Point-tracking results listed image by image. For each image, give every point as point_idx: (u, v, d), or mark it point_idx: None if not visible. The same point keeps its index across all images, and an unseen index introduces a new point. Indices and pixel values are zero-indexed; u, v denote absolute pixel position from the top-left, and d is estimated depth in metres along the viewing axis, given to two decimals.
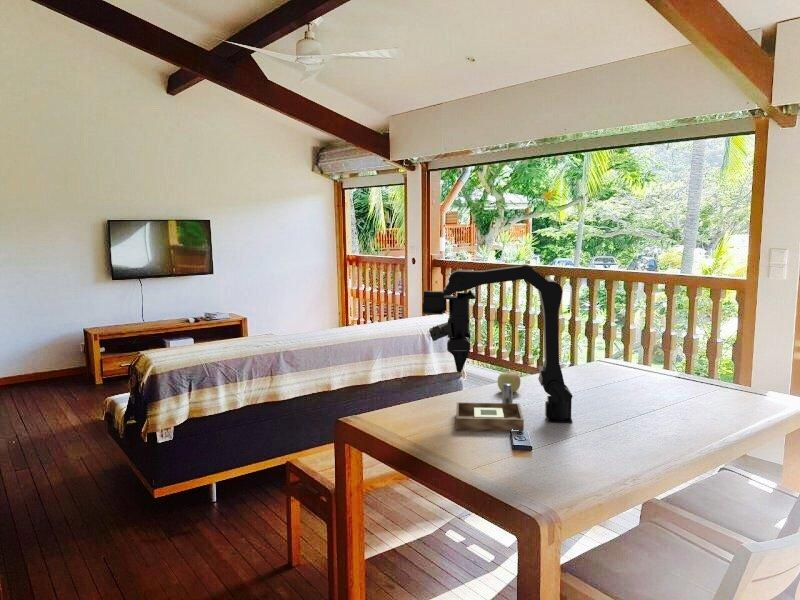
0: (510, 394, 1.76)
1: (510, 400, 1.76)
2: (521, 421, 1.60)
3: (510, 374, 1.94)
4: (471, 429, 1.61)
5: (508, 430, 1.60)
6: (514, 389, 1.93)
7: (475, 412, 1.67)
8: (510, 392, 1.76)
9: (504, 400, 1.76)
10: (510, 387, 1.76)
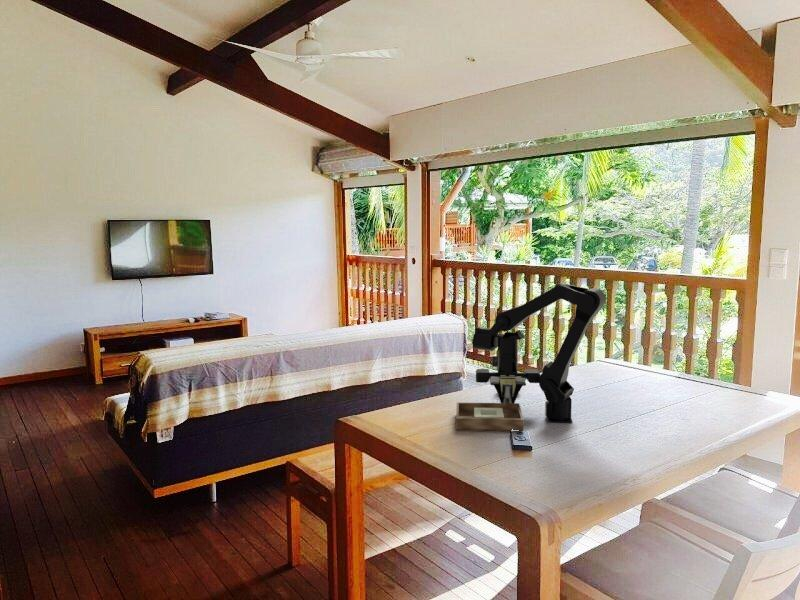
0: (510, 394, 1.76)
1: (510, 400, 1.76)
2: (521, 421, 1.60)
3: None
4: (471, 429, 1.61)
5: (508, 430, 1.60)
6: None
7: (475, 412, 1.67)
8: (510, 392, 1.76)
9: (504, 400, 1.76)
10: (510, 387, 1.76)
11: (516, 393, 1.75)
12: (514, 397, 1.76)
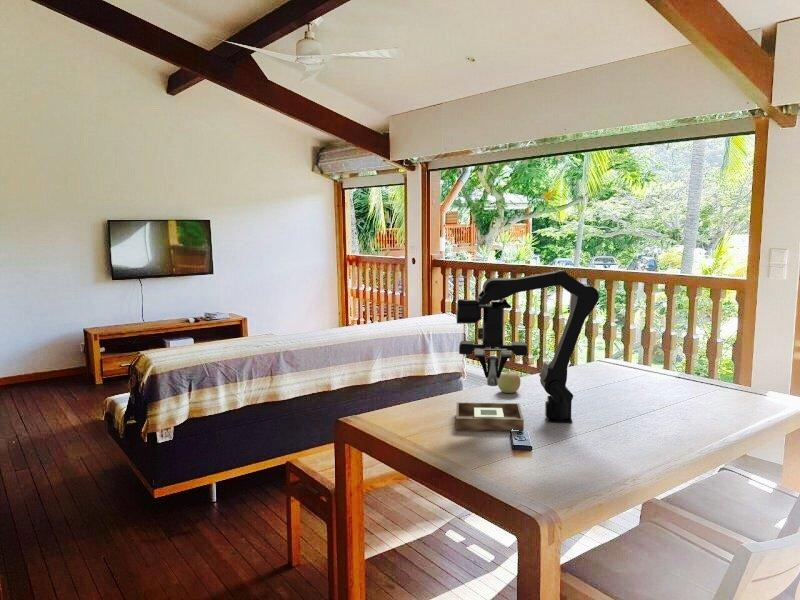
0: (495, 367, 1.67)
1: (495, 374, 1.67)
2: (521, 421, 1.60)
3: (510, 374, 1.94)
4: (471, 429, 1.61)
5: (508, 430, 1.60)
6: (514, 389, 1.93)
7: (475, 412, 1.67)
8: (495, 365, 1.67)
9: (489, 373, 1.68)
10: (495, 360, 1.67)
11: (501, 366, 1.66)
12: (499, 370, 1.67)
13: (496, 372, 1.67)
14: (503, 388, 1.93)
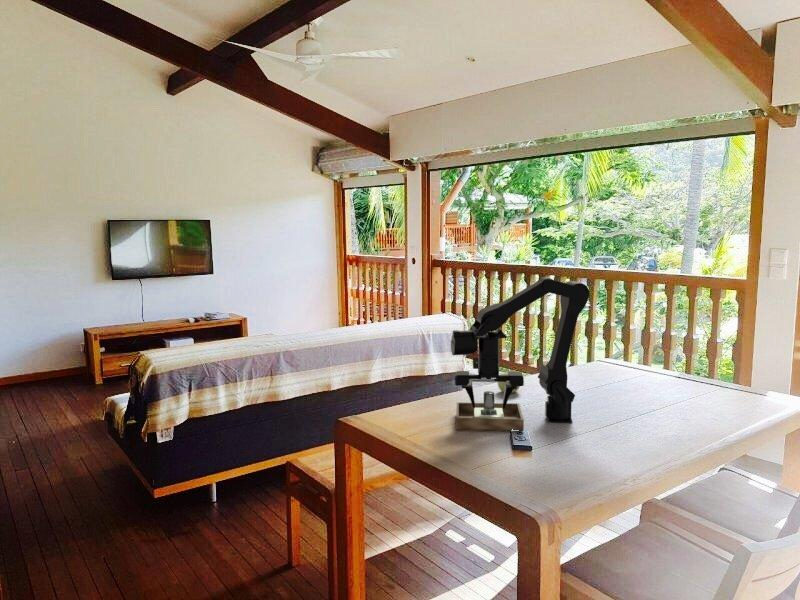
0: (492, 403, 1.65)
1: (492, 410, 1.66)
2: (521, 421, 1.60)
3: None
4: (471, 429, 1.61)
5: (508, 430, 1.60)
6: (514, 389, 1.93)
7: (475, 412, 1.67)
8: (492, 401, 1.65)
9: (485, 410, 1.66)
10: (492, 396, 1.65)
11: (507, 397, 1.64)
12: (504, 401, 1.65)
13: (492, 408, 1.66)
14: (503, 388, 1.93)
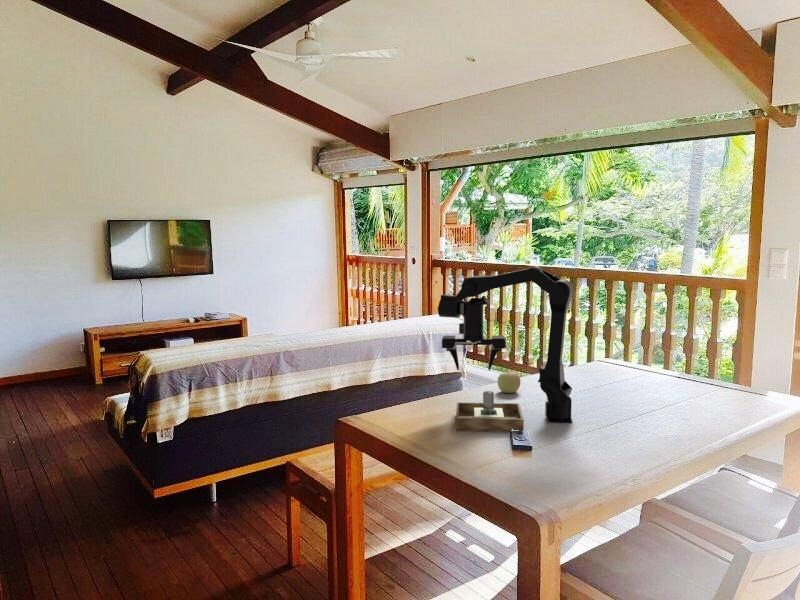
0: (491, 403, 1.66)
1: (491, 409, 1.66)
2: (521, 421, 1.60)
3: (510, 374, 1.94)
4: (471, 429, 1.61)
5: (508, 430, 1.60)
6: (514, 389, 1.93)
7: (475, 412, 1.67)
8: (491, 401, 1.66)
9: (485, 409, 1.66)
10: (491, 395, 1.66)
11: (492, 359, 1.75)
12: (490, 363, 1.76)
13: (492, 408, 1.66)
14: (503, 388, 1.93)
